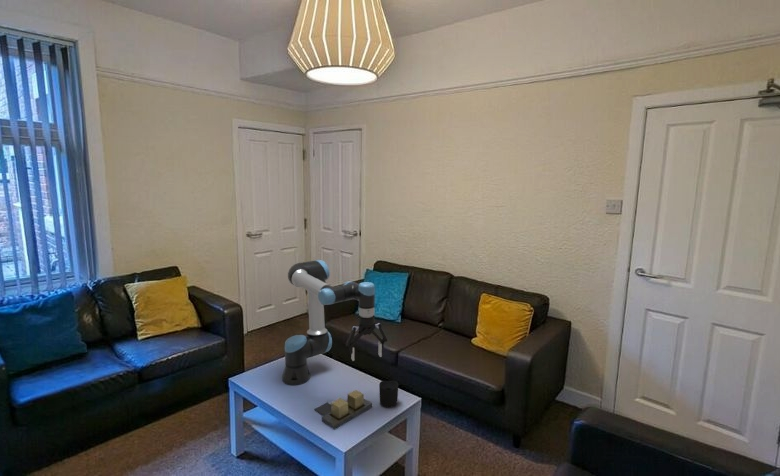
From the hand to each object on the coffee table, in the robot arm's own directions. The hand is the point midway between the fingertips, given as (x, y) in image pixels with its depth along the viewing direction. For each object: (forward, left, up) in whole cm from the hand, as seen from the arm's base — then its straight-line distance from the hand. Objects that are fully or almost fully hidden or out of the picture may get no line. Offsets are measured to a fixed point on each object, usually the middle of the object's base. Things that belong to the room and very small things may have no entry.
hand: (366, 357), depth 189 cm
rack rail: (-2, -10, -25) cm, 27 cm away
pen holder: (+6, +10, -26) cm, 28 cm away
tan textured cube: (-2, -15, -25) cm, 30 cm away
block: (-2, -5, -25) cm, 26 cm away
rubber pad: (-12, -15, -25) cm, 32 cm away
